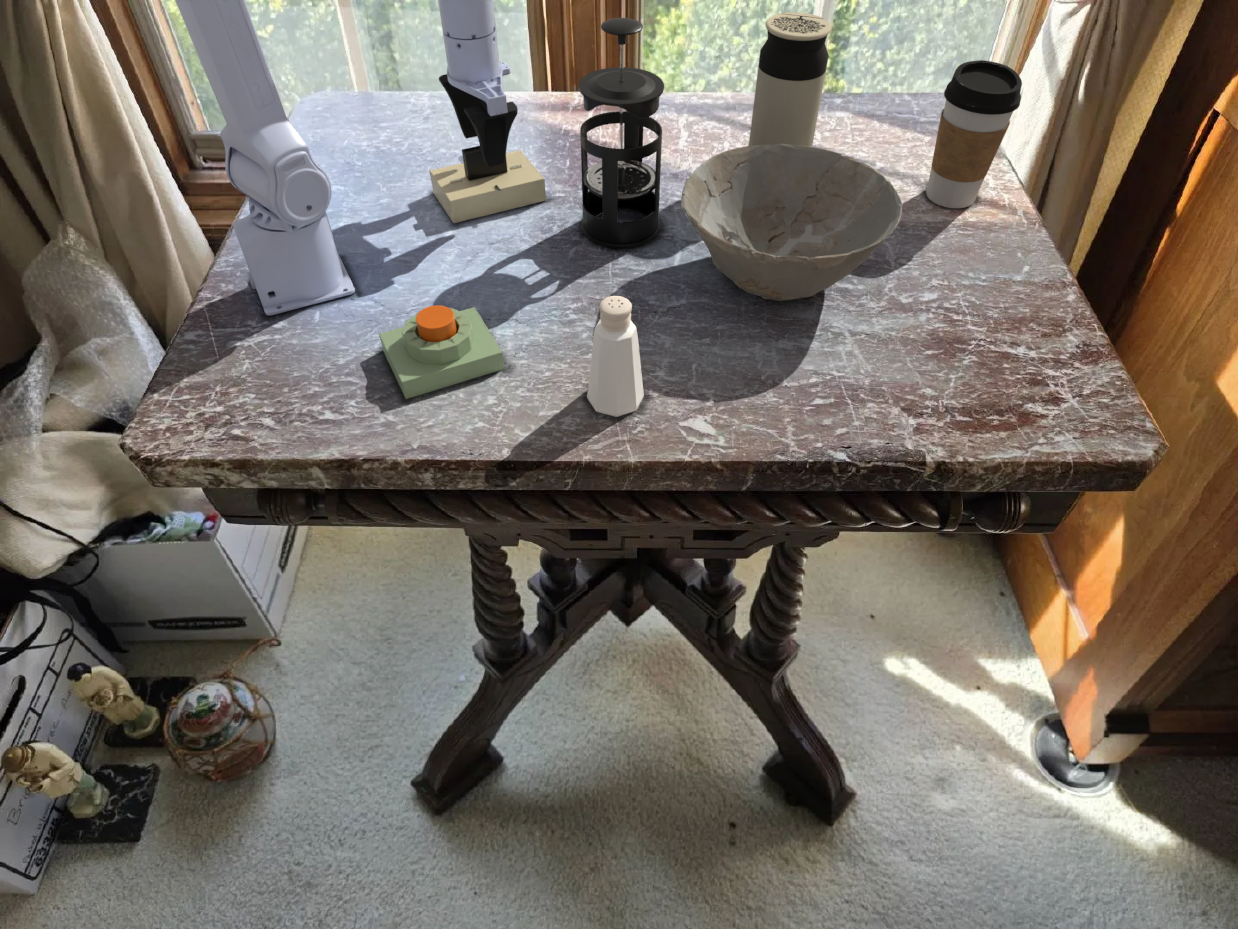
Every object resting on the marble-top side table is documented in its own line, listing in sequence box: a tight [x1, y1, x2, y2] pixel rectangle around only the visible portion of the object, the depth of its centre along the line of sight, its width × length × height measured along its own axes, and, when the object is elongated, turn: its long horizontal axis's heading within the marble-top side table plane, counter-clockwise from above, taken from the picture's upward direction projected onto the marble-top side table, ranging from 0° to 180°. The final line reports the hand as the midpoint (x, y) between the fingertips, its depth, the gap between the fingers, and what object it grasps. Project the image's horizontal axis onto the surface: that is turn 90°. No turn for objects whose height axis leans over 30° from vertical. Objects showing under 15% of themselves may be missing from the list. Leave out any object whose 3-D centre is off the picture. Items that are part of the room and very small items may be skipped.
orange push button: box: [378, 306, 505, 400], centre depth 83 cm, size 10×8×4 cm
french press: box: [578, 17, 665, 250], centre depth 93 cm, size 12×9×23 cm
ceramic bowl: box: [680, 144, 903, 302], centre depth 91 cm, size 22×23×10 cm
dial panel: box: [429, 149, 547, 224], centre depth 105 cm, size 12×9×3 cm
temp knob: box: [461, 145, 507, 181], centre depth 102 cm, size 5×1×4 cm, turn 116°
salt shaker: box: [586, 295, 645, 418], centre depth 77 cm, size 5×5×11 cm
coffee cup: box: [925, 59, 1023, 209], centre depth 101 cm, size 8×8×15 cm
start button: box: [416, 304, 456, 342], centre depth 81 cm, size 4×4×2 cm
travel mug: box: [748, 11, 832, 147], centre depth 104 cm, size 8×8×18 cm
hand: (483, 149), depth 101 cm, fingers open, 7 cm apart
